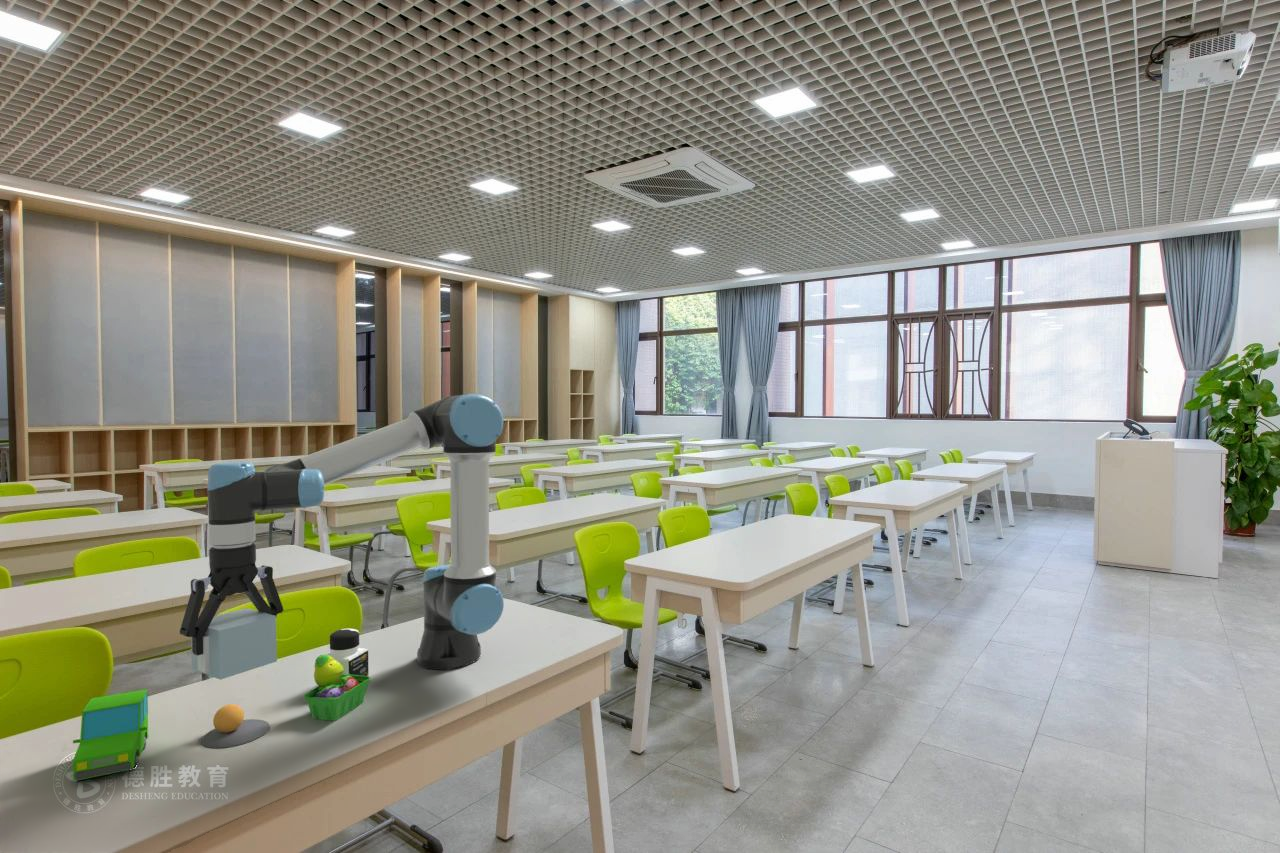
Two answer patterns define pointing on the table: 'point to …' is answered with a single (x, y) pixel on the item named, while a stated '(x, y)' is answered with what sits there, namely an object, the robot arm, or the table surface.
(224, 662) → the pale blue cube
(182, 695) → the table surface
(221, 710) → the ball
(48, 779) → the table surface
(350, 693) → the fruit basket
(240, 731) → the disc
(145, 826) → the table surface
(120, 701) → the toy car
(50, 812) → the table surface
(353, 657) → the medicine bottle
